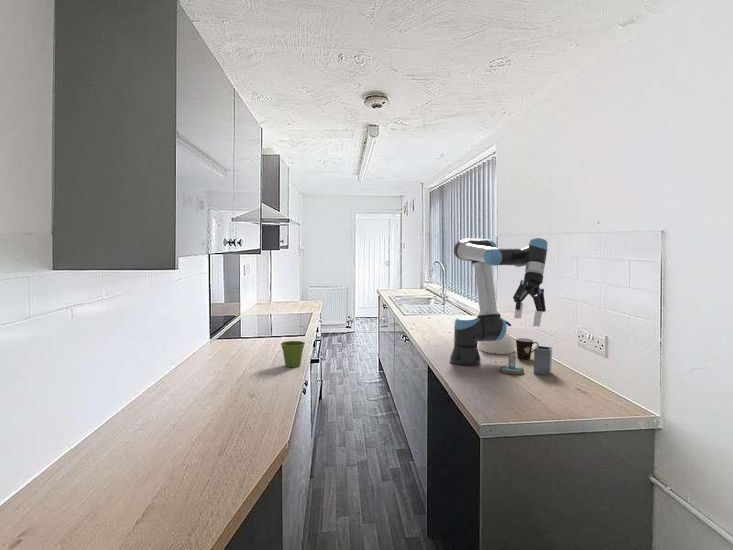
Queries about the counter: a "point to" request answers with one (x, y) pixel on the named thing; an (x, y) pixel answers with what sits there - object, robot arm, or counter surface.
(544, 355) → the grey square holder
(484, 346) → the kettle
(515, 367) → the post stand
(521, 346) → the coffee mug
